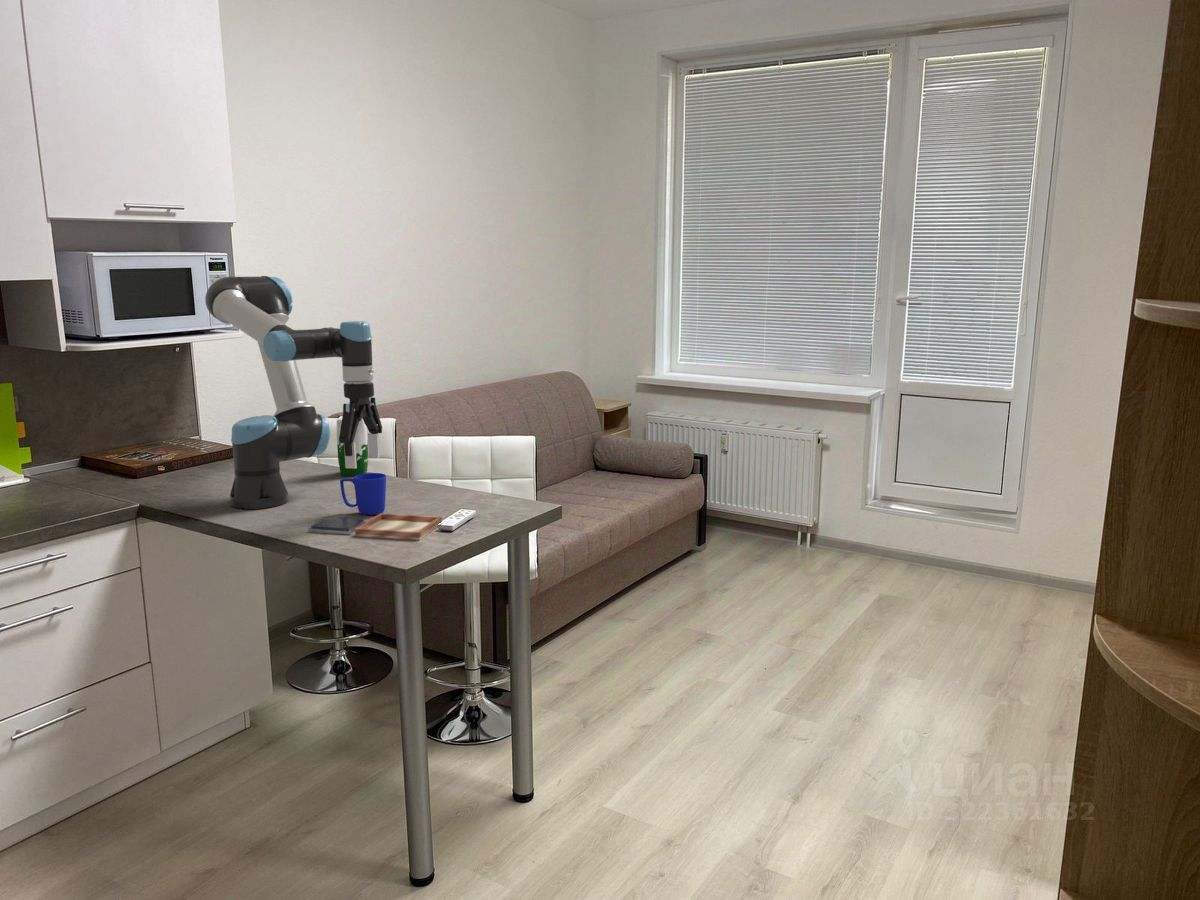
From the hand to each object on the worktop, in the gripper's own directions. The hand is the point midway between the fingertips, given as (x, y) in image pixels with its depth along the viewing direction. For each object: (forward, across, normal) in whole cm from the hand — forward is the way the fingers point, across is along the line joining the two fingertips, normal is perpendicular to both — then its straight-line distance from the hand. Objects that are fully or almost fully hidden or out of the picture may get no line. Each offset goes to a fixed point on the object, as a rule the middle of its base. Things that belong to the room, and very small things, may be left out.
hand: (363, 463), depth 238 cm
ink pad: (+14, -15, 0) cm, 20 cm away
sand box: (+14, -13, -15) cm, 24 cm away
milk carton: (+13, +43, +24) cm, 51 cm away
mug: (+14, 0, 0) cm, 14 cm away
